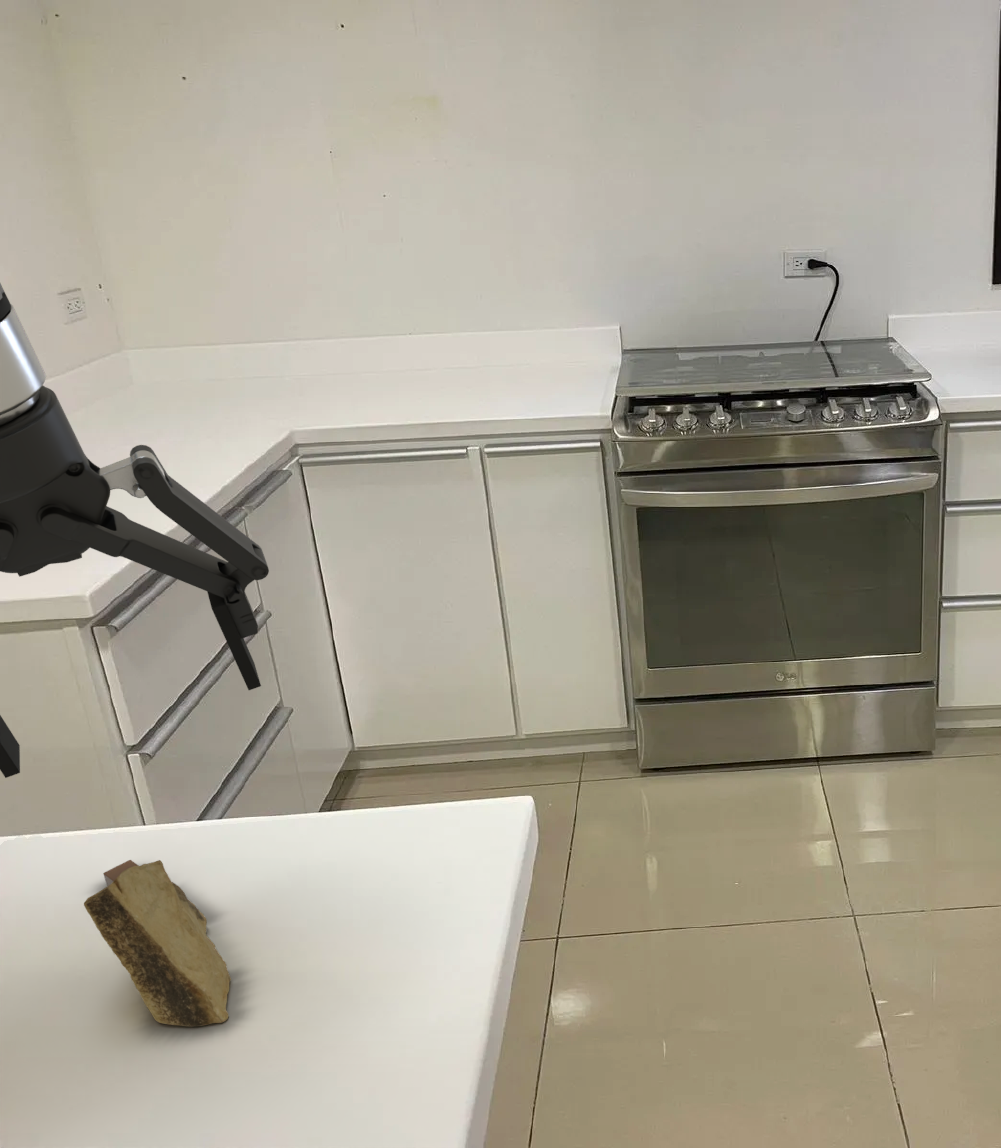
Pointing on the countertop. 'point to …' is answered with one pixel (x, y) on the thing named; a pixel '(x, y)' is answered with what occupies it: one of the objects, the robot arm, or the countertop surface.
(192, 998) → the rock
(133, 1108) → the countertop surface
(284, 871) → the countertop surface
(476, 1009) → the countertop surface
